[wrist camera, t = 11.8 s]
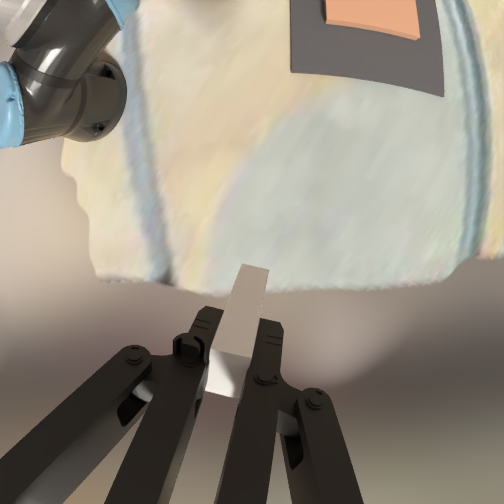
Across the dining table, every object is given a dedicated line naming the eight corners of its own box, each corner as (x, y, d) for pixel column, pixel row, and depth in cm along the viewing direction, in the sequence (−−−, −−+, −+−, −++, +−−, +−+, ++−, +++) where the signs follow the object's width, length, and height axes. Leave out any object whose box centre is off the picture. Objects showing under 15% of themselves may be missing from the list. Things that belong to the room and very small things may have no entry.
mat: (291, 72, 35) (291, 71, 34) (287, -61, 23) (287, -63, 22) (442, 97, 32) (444, 96, 31) (424, -37, 20) (425, -38, 19)
